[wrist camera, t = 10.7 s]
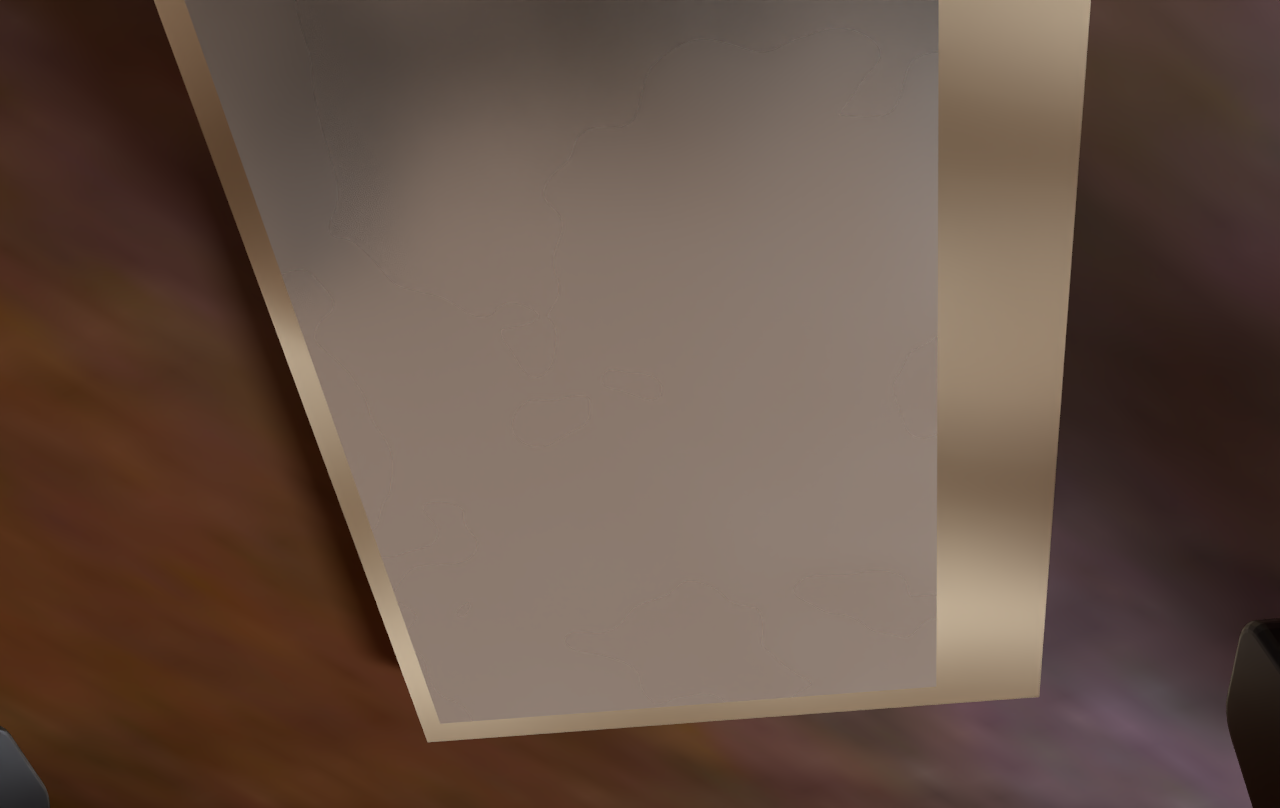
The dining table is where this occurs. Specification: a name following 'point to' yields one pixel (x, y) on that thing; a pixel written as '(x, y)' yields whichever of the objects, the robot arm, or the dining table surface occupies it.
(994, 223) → the rail board
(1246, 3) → the dining table surface
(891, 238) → the saddle block
